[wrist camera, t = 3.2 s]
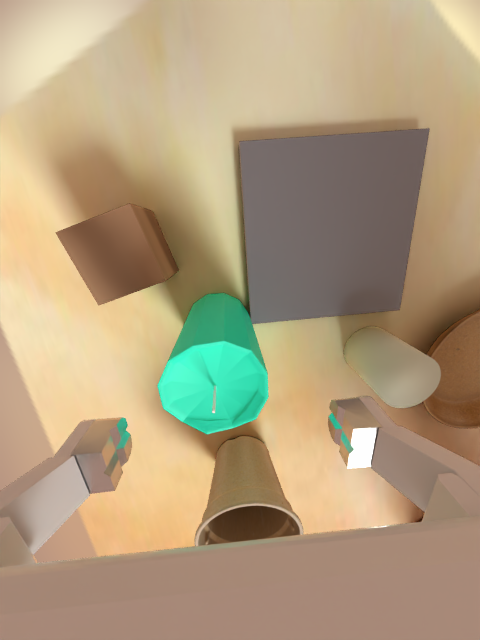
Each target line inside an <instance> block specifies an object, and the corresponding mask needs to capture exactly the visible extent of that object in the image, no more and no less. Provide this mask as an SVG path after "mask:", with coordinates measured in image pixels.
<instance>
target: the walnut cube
mask: <svg viewBox="0 0 480 640" xmlns="http://www.w3.org/2000/svg"><path fill="white" fill-rule="evenodd" d="M56 234H57V236H58V238H59V239H60V241H61V243H62V244H63V246H64V248H65V249H66V251H67V253H68V255H69V256H70V258H71V260H72V261H73V263H74V265H75V266H76V268H77V270H78V271H79V273H80V275H81V277H82V278H83V280H84V282H85V283H86V285H87V287H88V288H89V290H90V292H91V293H92V295H93V297H94V298H95V300H96V302H97V304H98V305H101V304H104V303H107V302H110V301H112V300H115V299H118V298H120V297H123V296H126V295H128V294H131V293H134V292H137V291H139V290H142V289H145V288H147V287H150V286H153V285H155V284H158V283H161V282H163V281H166V280H167V279H169V278H170V277H171V276H172V275H174V274H175V273H176V272H178V271H179V270H178V268H177V265H176V263H175V261H174V258H173V256H172V254H171V252H170V249H169V247H168V245H167V243H166V240H165V238H164V236H163V234H162V231H161V229H160V227H159V224H158V222H157V220H156V218H155V215H154V213H153V211H151V210H148V209H145V208H142V207H139V206H136V205H133V204H130V203H129V204H127V205H124V206H121V207H119V208H116V209H114V210H111V211H109V212H106V213H104V214H101V215H99V216H96V217H94V218H91V219H89V220H86V221H83V222H81V223H78V224H76V225H73V226H71V227H68V228H66V229H63V230H61V231H58V232H56Z"/></svg>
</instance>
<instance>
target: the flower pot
mask: <svg viewBox="0 0 480 640" xmlns="http://www.w3.org/2000/svg"><path fill="white" fill-rule="evenodd" d="M295 535H303V526H302V523H301V521H300V519H299V517H298V516H297V515H296V514H295V513H294V512H293V510H292V507H291V505H290V503H289V502H288V501H287V500H286V498H285V496H284V493H283V491H282V488H281V485H280V483H279V480H278V477H277V474H276V472H275V469H274V466H273V464H272V461H271V458H270V455H269V452H268V449H267V448H266V446H265V445H264V443H263V442H261V441H260V440H258V439H256V438H253V437H249V436H240V437H238V438H236V439H233V440H227V441H226V442H225V443H224V444H223V445H222V446H221V447H220V448H219V450H218V452H217V456H216V462H215V468H214V474H213V479H212V484H211V489H210V494H209V500H208V505H207V509H206V510H205V512H204V515H203V518H202V522H201V524H200V525H199V527H198V529H197V531H196V535H195V546H202V545H211V544H221V543H230V542H239V541H248V540H258V539H267V538H276V537H285V536H295Z"/></svg>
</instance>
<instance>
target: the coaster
mask: <svg viewBox="0 0 480 640" xmlns="http://www.w3.org/2000/svg"><path fill="white" fill-rule="evenodd" d="M429 129H430V128H428V129H413V130H399V131H384V132H369V133H355V134H340V135H325V136H311V137H296V138H281V139H267V140H252V141H239V159H240V174H241V189H242V204H243V220H244V235H245V250H246V265H247V280H248V296H249V311H250V319H251V322H252V324H257V323H268V322H278V321H289V320H299V319H310V318H320V317H331V316H341V315H352V314H362V313H373V312H383V311H394V310H400V305H401V299H402V293H403V287H404V281H405V275H406V269H407V263H408V257H409V250H410V244H411V238H412V232H413V226H414V220H415V214H416V208H417V202H418V196H419V190H420V183H421V177H422V171H423V165H424V159H425V153H426V147H427V141H428V135H429Z"/></svg>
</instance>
